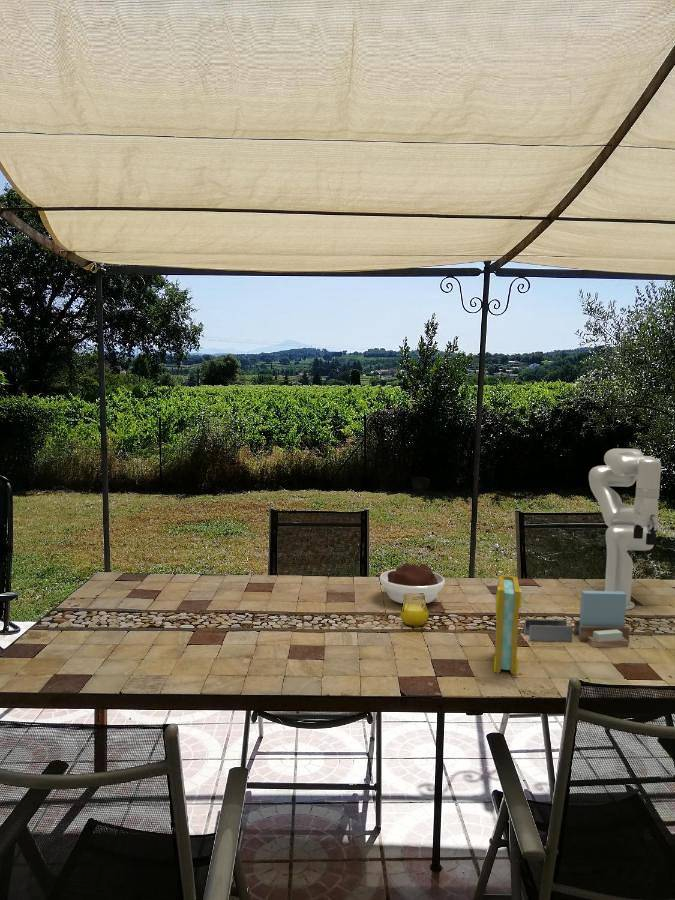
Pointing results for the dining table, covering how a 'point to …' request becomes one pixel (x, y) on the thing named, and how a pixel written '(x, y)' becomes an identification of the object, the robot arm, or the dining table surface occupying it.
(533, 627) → the grey rack
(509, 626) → the book
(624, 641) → the offcut lower
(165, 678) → the dining table surface
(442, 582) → the bowl of chocolate mousse
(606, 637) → the offcut upper
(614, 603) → the tall sheet
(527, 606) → the dining table surface
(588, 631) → the walnut rack
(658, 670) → the dining table surface
